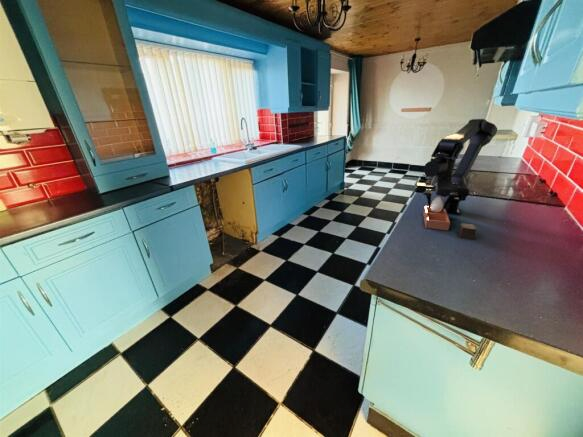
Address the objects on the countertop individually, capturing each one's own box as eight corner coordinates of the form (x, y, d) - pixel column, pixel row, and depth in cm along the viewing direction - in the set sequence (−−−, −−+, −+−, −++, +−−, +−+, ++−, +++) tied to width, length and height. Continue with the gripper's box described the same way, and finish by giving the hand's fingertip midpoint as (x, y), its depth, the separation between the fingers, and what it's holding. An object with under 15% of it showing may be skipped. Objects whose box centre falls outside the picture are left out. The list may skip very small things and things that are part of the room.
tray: (425, 227, 93) (427, 219, 92) (423, 213, 106) (424, 206, 104) (448, 230, 90) (450, 222, 89) (443, 215, 103) (445, 207, 101)
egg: (441, 210, 101) (445, 195, 98) (442, 214, 97) (446, 199, 94) (428, 209, 103) (431, 194, 100) (429, 213, 99) (432, 198, 96)
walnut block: (458, 232, 89) (460, 223, 87) (470, 234, 87) (473, 224, 86) (460, 237, 85) (462, 227, 84) (473, 239, 84) (476, 229, 82)
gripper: (418, 175, 89) (411, 213, 96) (478, 178, 82) (466, 219, 89) (417, 169, 99) (411, 203, 105) (471, 171, 91) (461, 208, 98)
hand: (436, 208), depth 99 cm, fingers closed on egg, 5 cm apart
